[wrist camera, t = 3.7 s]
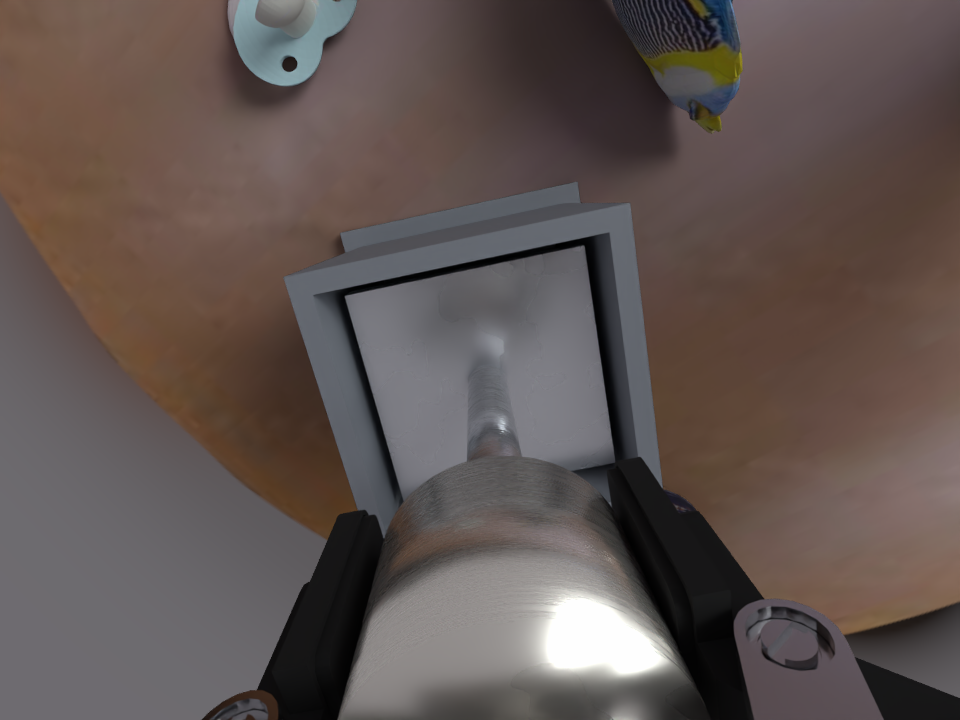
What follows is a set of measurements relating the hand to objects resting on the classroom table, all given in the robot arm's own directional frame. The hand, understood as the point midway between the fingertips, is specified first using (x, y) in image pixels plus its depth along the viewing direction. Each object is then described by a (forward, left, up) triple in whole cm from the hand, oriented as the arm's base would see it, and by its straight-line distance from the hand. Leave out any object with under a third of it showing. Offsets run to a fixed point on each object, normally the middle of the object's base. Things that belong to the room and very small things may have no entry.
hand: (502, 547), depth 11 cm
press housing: (0, 0, -22) cm, 22 cm away
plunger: (0, 0, -11) cm, 11 cm away
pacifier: (+6, -19, -23) cm, 30 cm away
